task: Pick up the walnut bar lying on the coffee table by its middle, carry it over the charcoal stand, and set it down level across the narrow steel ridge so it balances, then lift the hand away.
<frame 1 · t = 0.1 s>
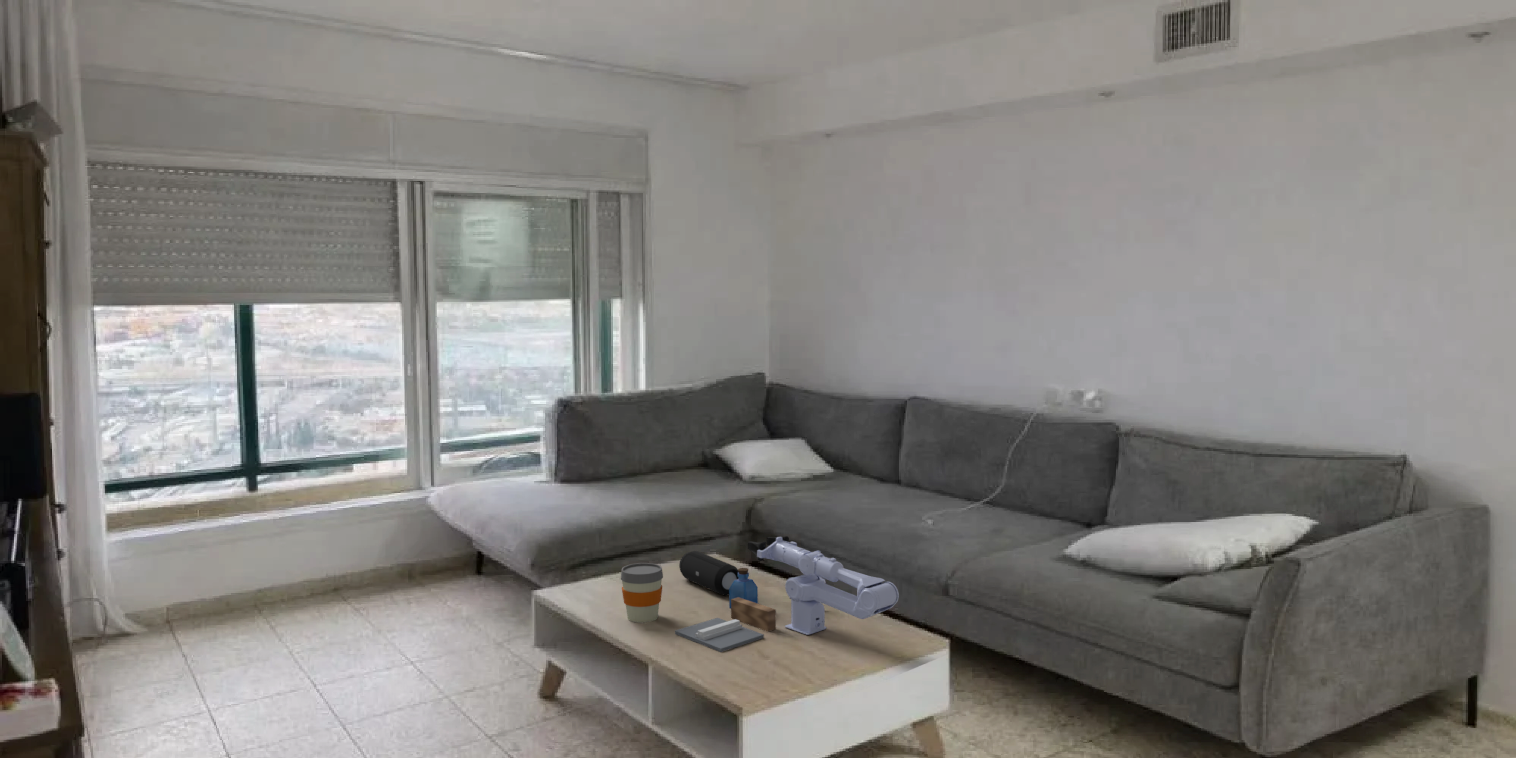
hand: (758, 542, 313), 22 cm above the table, tool horizontal, fingers open, 7 cm apart
ridge stand: (719, 635, 295), on the table
perfume bottle: (743, 608, 320), on the table
portable speaker: (710, 588, 341), on the table
reusable coffee cup: (642, 618, 312), on the table
walnut bar: (753, 624, 305), on the table
lighter: (808, 611, 317), on the table
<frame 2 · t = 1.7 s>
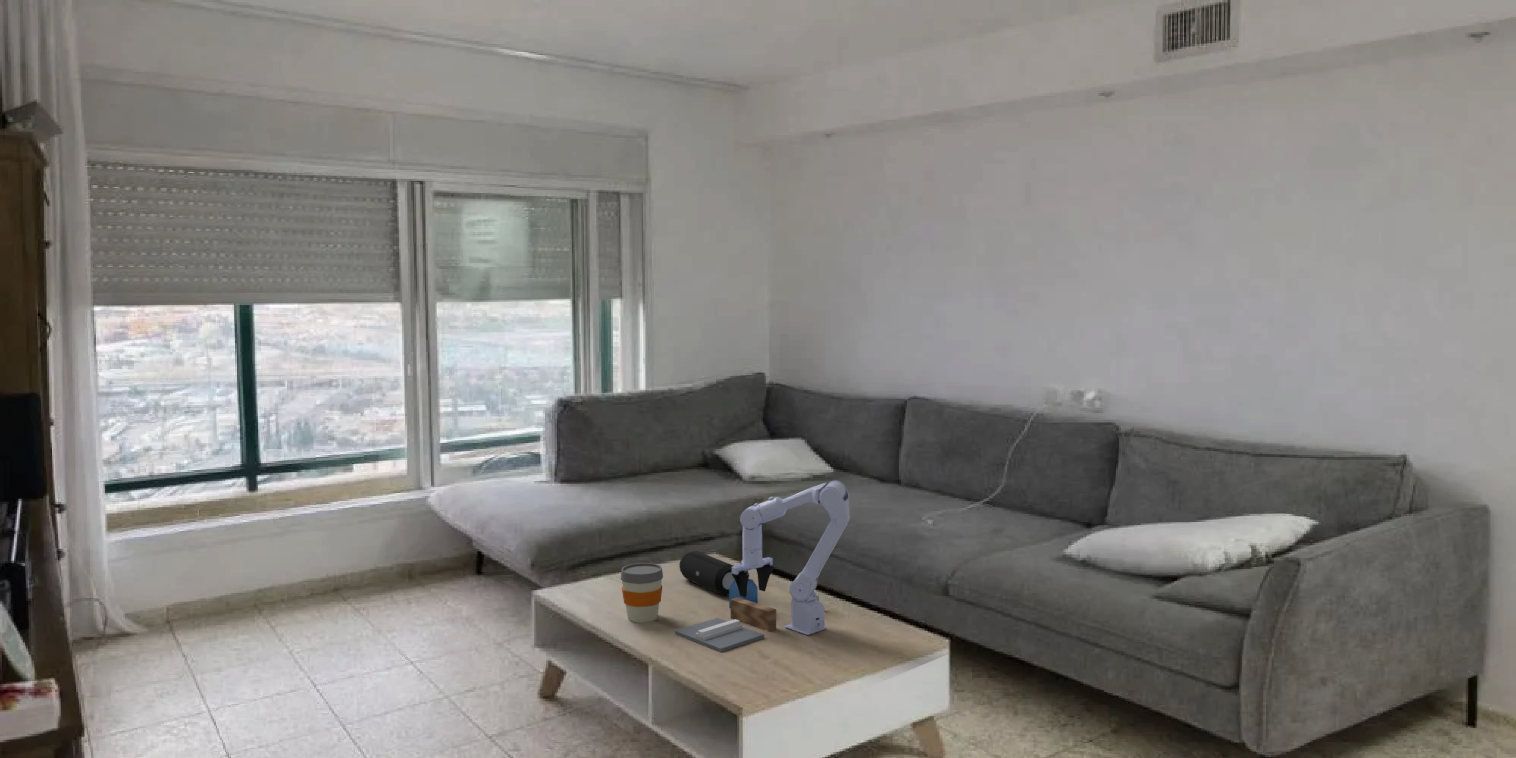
hand: (752, 593, 304), 9 cm above the table, tool pointing down, fingers open, 7 cm apart
nothing on the table moved.
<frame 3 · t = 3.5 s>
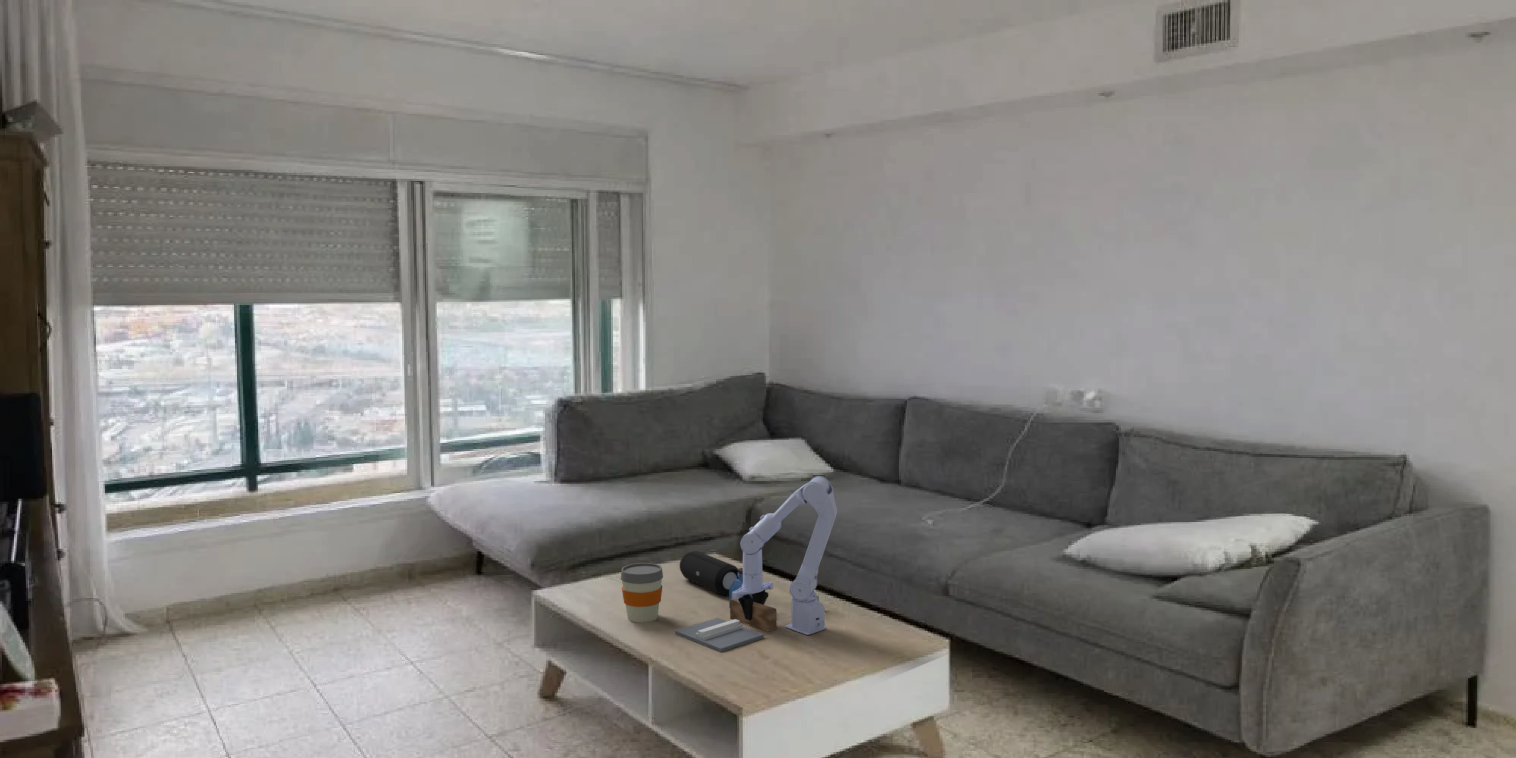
hand: (753, 617, 305), 2 cm above the table, tool pointing down, fingers closed on walnut bar, 3 cm apart
walnut bar: (753, 623, 305), on the table, touching gripper
everything else where it was.
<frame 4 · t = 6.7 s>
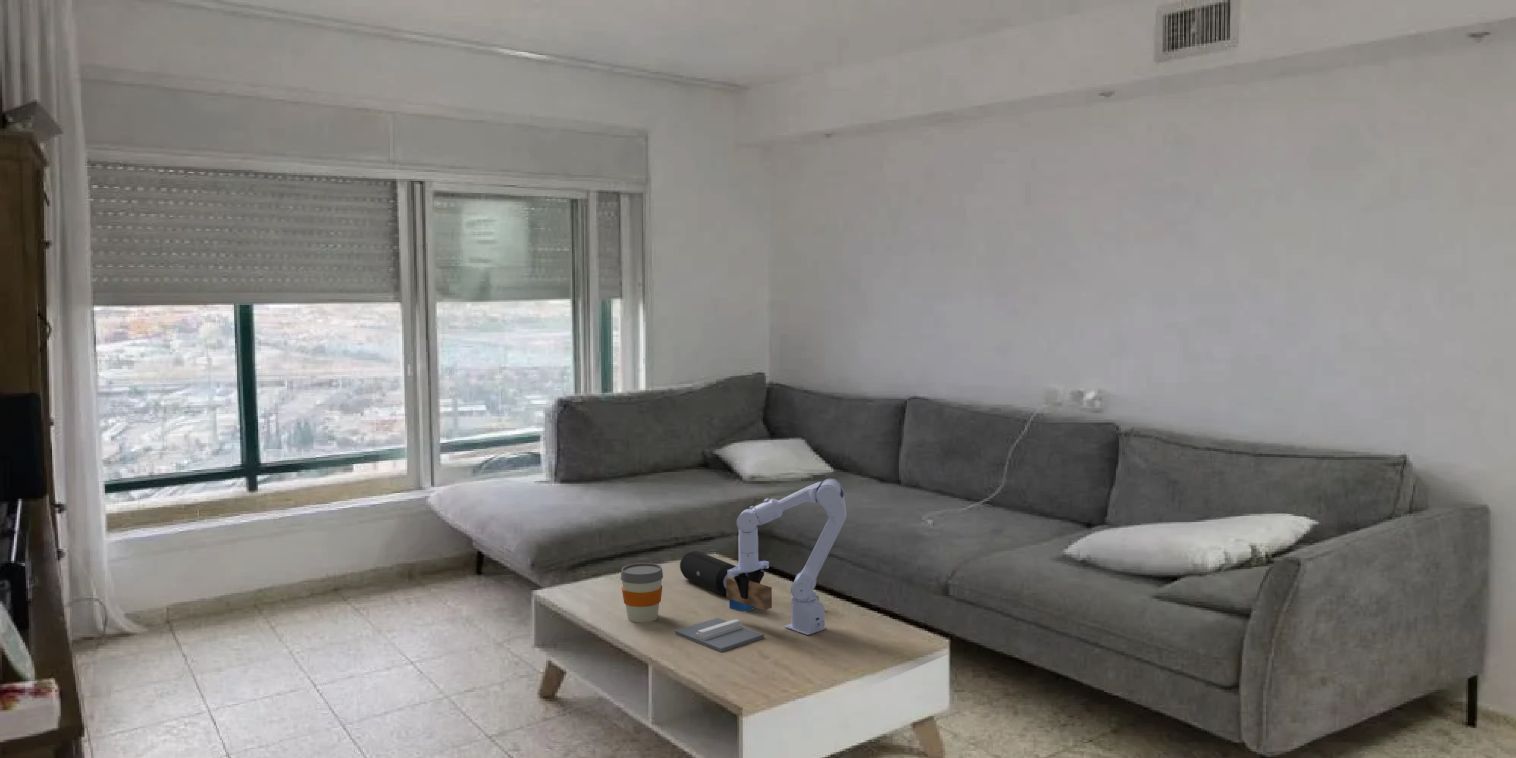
hand: (748, 596, 303), 8 cm above the table, tool pointing down, fingers closed on walnut bar, 3 cm apart
walnut bar: (748, 602, 304), point 7 cm above the table, touching gripper
everything else where it was.
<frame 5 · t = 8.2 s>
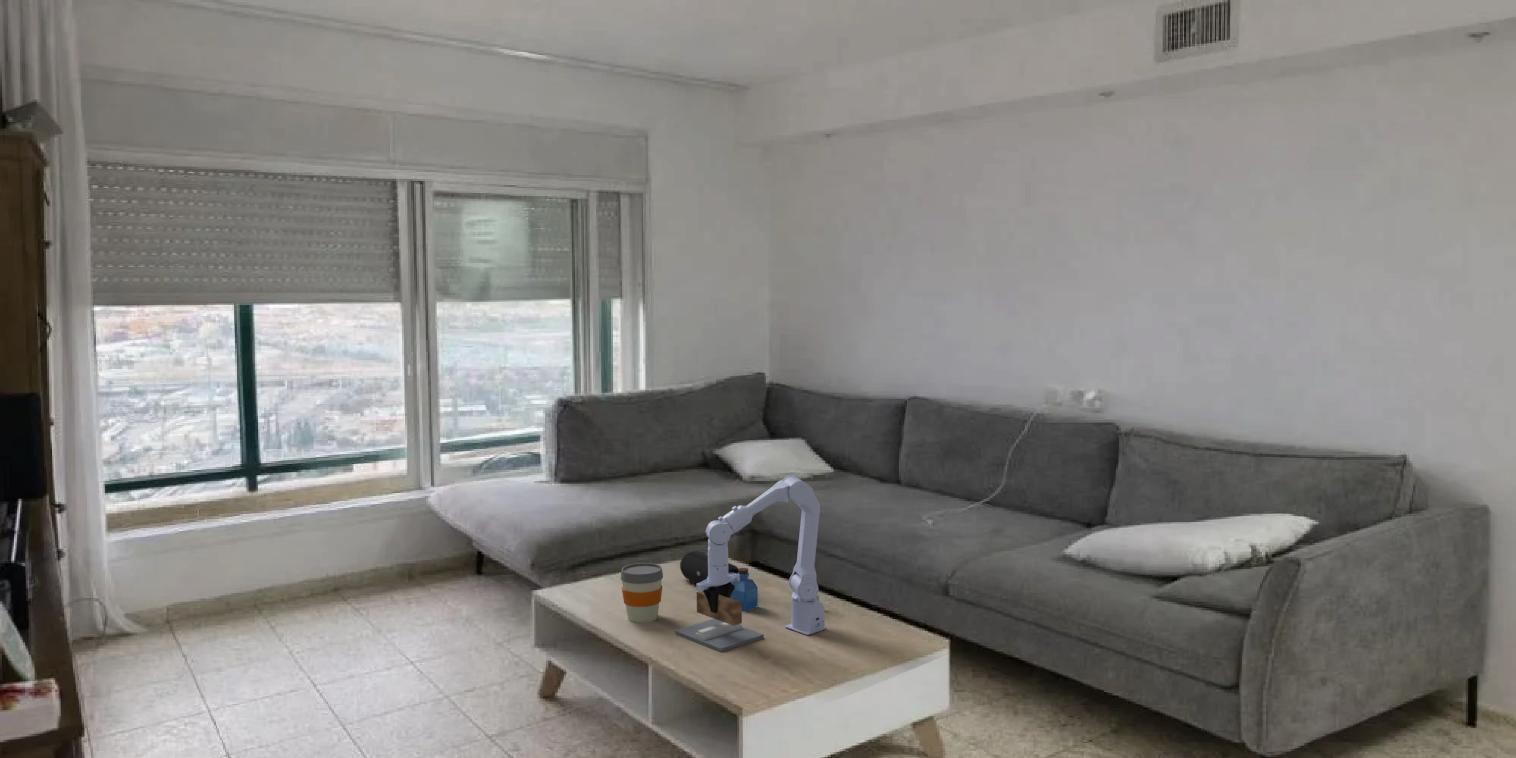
hand: (718, 610, 294), 7 cm above the table, tool pointing down, fingers closed on walnut bar, 3 cm apart
walnut bar: (719, 617, 295), point 5 cm above the table, touching gripper
everything else where it was.
when the fingers open (5 cm above the table, at t = 9.7 s): walnut bar stays where it is, resting on ridge stand.
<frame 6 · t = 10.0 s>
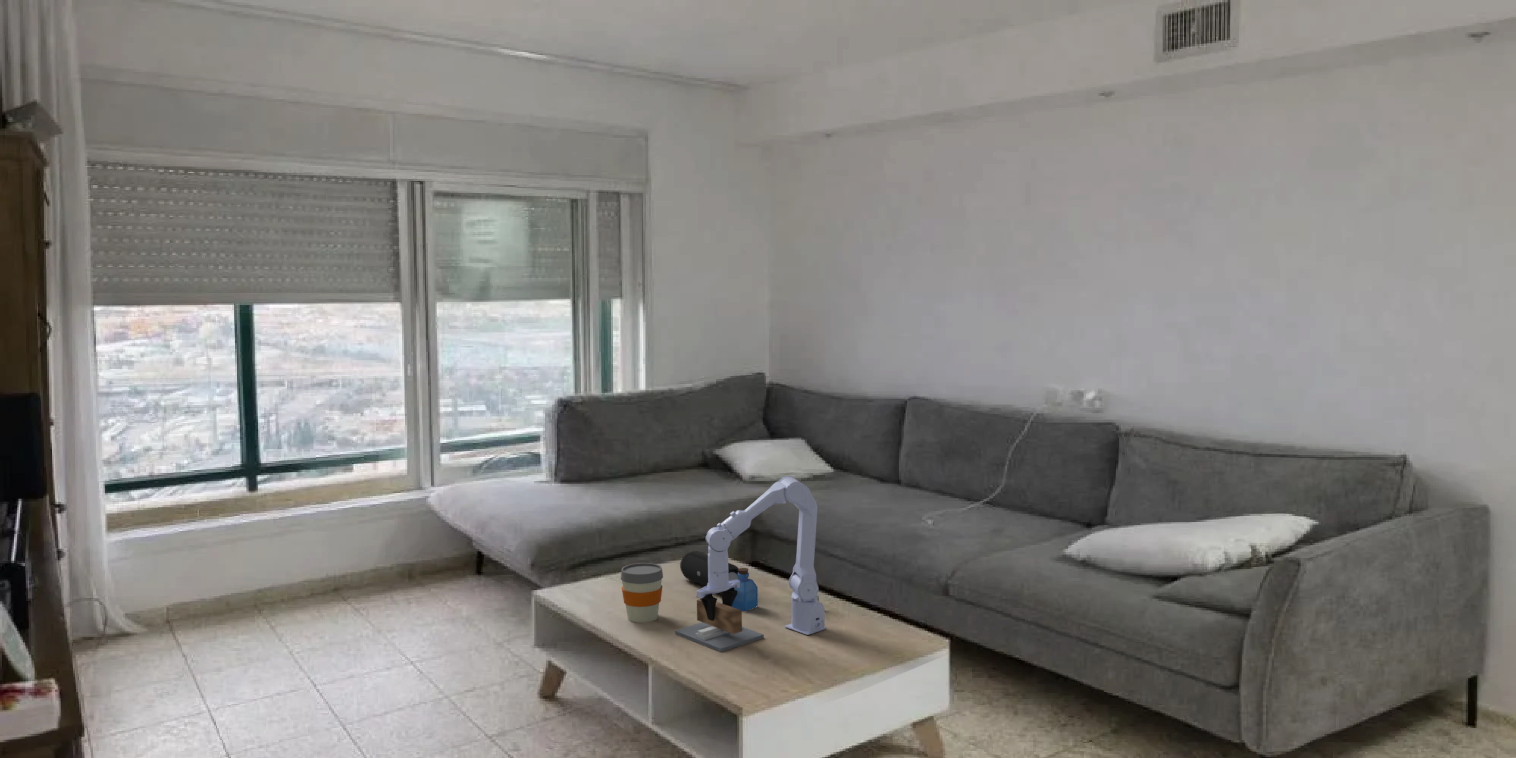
hand: (718, 617, 295), 5 cm above the table, tool pointing down, fingers open, 5 cm apart
walnut bar: (719, 625, 295), point 3 cm above the table, touching ridge stand
everything else where it was.
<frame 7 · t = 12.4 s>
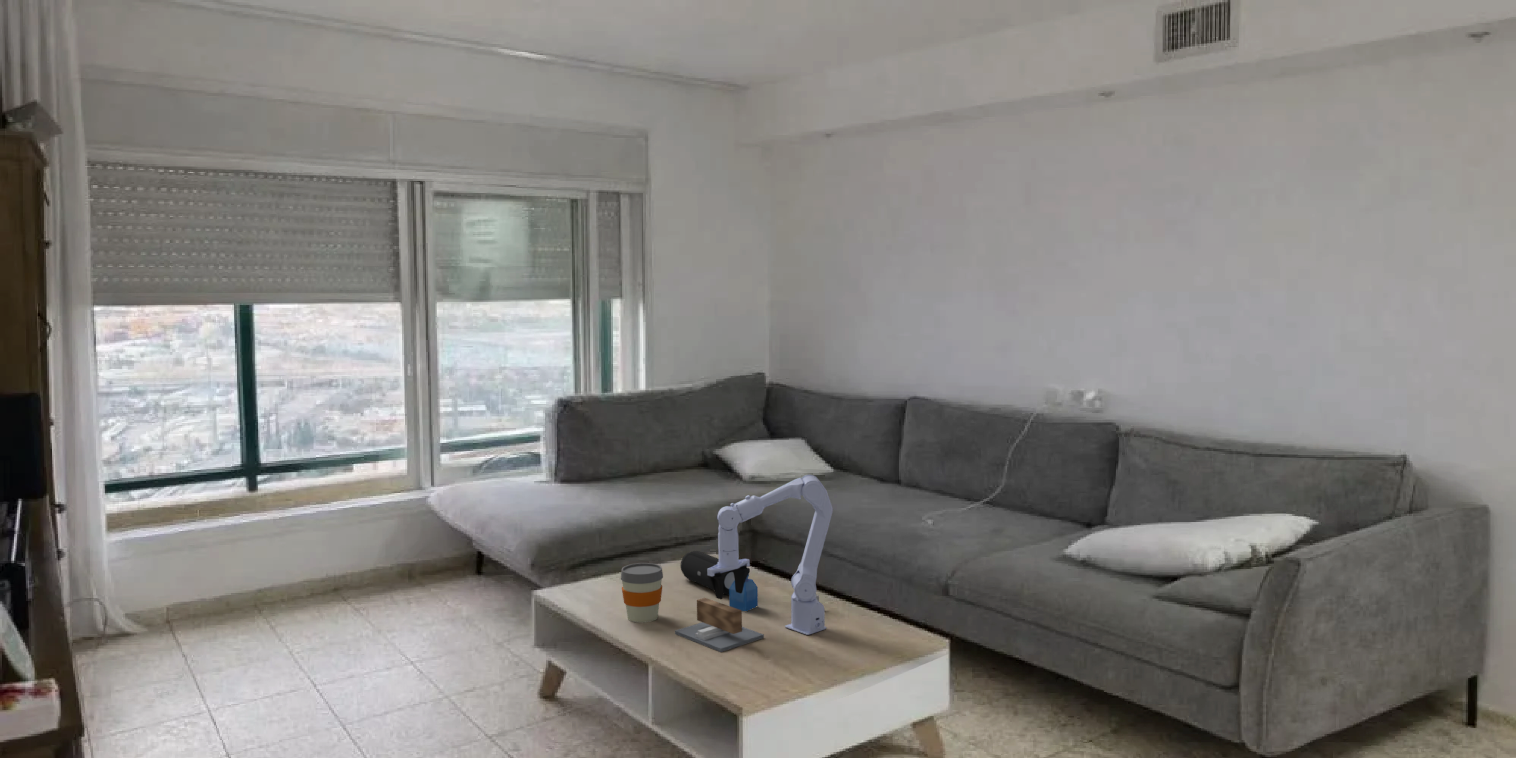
hand: (729, 595, 299), 10 cm above the table, tool pointing down, fingers open, 7 cm apart
nothing on the table moved.
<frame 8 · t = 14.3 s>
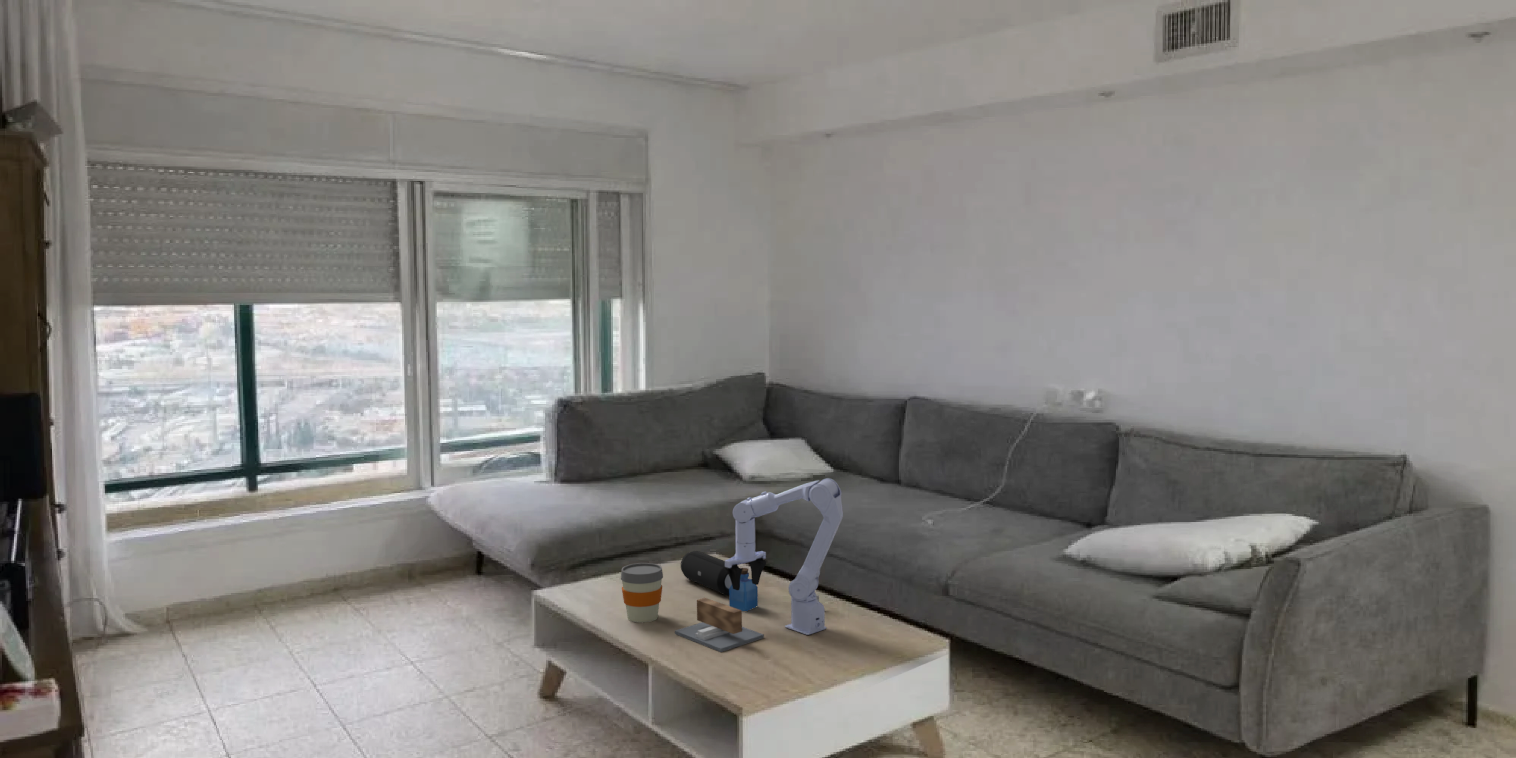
hand: (745, 586, 307), 10 cm above the table, tool pointing down, fingers open, 7 cm apart
nothing on the table moved.
at the end: walnut bar 0.1 cm off-centre on the ridge stand, point 3.0 cm above the ridge stand's base; walnut bar tilted 0°; the gripper is holding nothing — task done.
